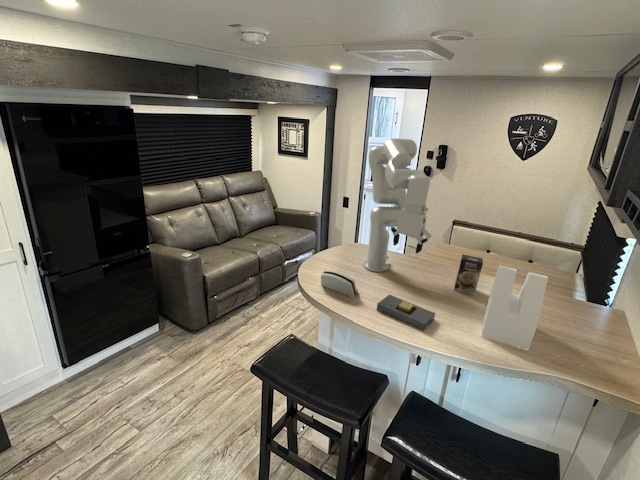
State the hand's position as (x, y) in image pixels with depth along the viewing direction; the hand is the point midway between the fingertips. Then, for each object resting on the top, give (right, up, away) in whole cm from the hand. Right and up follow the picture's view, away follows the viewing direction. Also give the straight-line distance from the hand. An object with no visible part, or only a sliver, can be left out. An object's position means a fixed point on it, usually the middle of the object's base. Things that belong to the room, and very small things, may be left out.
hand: (406, 248), depth 140 cm
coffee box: (+32, -20, +22) cm, 44 cm away
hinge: (-27, -19, +15) cm, 36 cm away
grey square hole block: (-1, -26, -1) cm, 26 cm away
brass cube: (-1, -26, -1) cm, 27 cm away
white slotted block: (+36, -31, -6) cm, 48 cm away
